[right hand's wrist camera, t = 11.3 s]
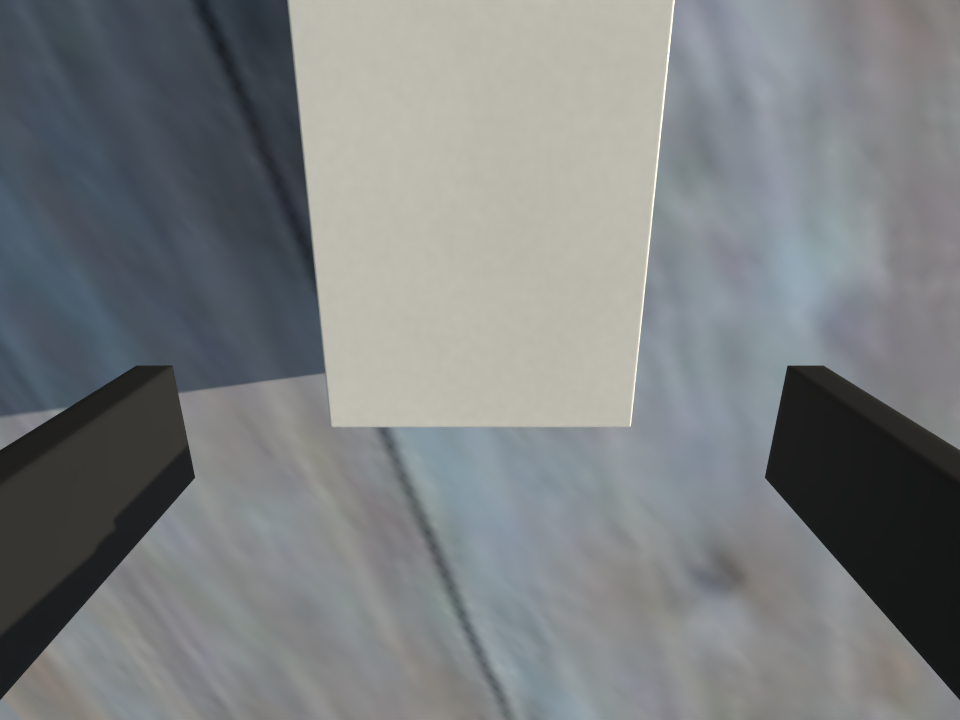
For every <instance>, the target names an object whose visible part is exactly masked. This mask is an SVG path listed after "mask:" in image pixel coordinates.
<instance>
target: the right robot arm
mask: <svg viewBox="0 0 960 720" xmlns="http://www.w3.org/2000/svg"><path fill="white" fill-rule="evenodd" d="M194 478H195V475H194V470H193V465H192V460H191V455H190V450H189V445H188V440H187V435H186V430H185V426H184V421H183V416H182V411H181V406H180V401H179V396H178V391H177V386H176V381H175V376H174V371H173V366H135V367H134V368H132V369H130V370H129V371H127V372H126V373H124V374H122V375H121V376H119V377H117V378H116V379H114V380H113V381H111V382H109V383H108V384H106V385H105V386H103V387H101V388H100V389H98V390H97V391H95V392H93V393H92V394H90V395H88V396H87V397H85V398H84V399H82V400H80V401H79V402H77V403H76V404H74V405H72V406H71V407H69V408H68V409H66V410H64V411H63V412H61V413H59V414H58V415H56V416H55V417H53V418H51V419H50V420H48V421H47V422H45V423H43V424H42V425H40V426H39V427H37V428H35V429H34V430H32V431H31V432H29V433H27V434H26V435H24V436H22V437H21V438H19V439H18V440H16V441H14V442H13V443H11V444H10V445H8V446H6V447H5V448H3V449H2V450H0V700H1V698H2V697H3V696H4V695H5V694H6V693H7V692H8V690H9V689H10V688H11V687H12V686H13V685H14V684H15V682H16V681H17V680H18V679H19V678H20V677H21V676H22V674H23V673H24V672H25V671H26V670H27V669H28V668H29V666H30V665H31V664H32V663H33V662H34V661H35V660H36V659H37V657H38V656H39V655H40V654H41V653H42V652H43V651H44V649H45V648H46V647H47V646H48V645H49V644H50V643H51V641H52V640H53V639H54V638H55V637H56V636H57V635H58V633H59V632H60V631H61V630H62V629H63V628H64V627H65V625H66V624H67V623H68V622H69V621H70V620H71V619H72V617H73V616H74V615H75V614H76V613H77V612H78V611H79V609H80V608H81V607H82V606H83V605H84V604H85V603H86V601H87V600H88V599H89V598H90V597H91V596H92V595H93V593H94V592H95V591H96V590H97V589H98V588H99V587H100V585H101V584H102V583H103V582H104V581H105V580H106V579H107V577H108V576H109V575H110V574H111V573H112V572H113V571H114V570H115V568H116V567H117V566H118V565H119V564H120V563H121V562H122V560H123V559H124V558H125V557H126V556H127V555H128V554H129V552H130V551H131V550H132V549H133V548H134V547H135V546H136V544H137V543H138V542H139V541H140V540H141V539H142V538H143V536H144V535H145V534H146V533H147V532H148V531H149V530H150V528H151V527H152V526H153V525H154V524H155V523H156V522H157V520H158V519H159V518H160V517H161V516H162V515H163V514H164V512H165V511H166V510H167V509H168V508H169V507H170V506H171V504H172V503H173V502H174V501H175V500H176V499H177V498H178V496H179V495H180V494H181V493H182V492H183V491H184V490H185V488H186V487H187V486H188V485H189V484H190V483H191V482H192V481H193V479H194ZM765 478H766V479H767V481H768V482H769V483H770V484H771V485H772V486H773V487H774V488H775V490H776V491H777V492H778V493H779V494H780V495H781V496H782V498H783V499H784V500H785V501H786V502H787V503H788V504H789V506H790V507H791V508H792V509H793V510H794V511H795V512H796V514H797V515H798V516H799V517H800V518H801V519H802V520H803V522H804V523H805V524H806V525H807V526H808V527H809V528H810V530H811V531H812V532H813V533H814V534H815V535H816V536H817V538H818V539H819V540H820V541H821V542H822V543H823V544H824V546H825V547H826V548H827V549H828V550H829V551H830V552H831V554H832V555H833V556H834V557H835V558H836V559H837V560H838V562H839V563H840V564H841V565H842V566H843V567H844V568H845V570H846V571H847V572H848V573H849V574H850V575H851V576H852V577H853V579H854V580H855V581H856V582H857V583H858V584H859V585H860V587H861V588H862V589H863V590H864V591H865V592H866V593H867V595H868V596H869V597H870V598H871V599H872V600H873V601H874V603H875V604H876V605H877V606H878V607H879V608H880V609H881V611H882V612H883V613H884V614H885V615H886V616H887V617H888V619H889V620H890V621H891V622H892V623H893V624H894V625H895V627H896V628H897V629H898V630H899V631H900V632H901V633H902V635H903V636H904V637H905V638H906V639H907V640H908V641H909V643H910V644H911V645H912V646H913V647H914V648H915V649H916V651H917V652H918V653H919V654H920V655H921V656H922V657H923V659H924V660H925V661H926V662H927V663H928V664H929V665H930V666H931V668H932V669H933V670H934V671H935V672H936V673H937V674H938V676H939V677H940V678H941V679H942V680H943V681H944V682H945V684H946V685H947V686H948V687H949V688H950V689H951V690H952V692H953V693H954V694H955V695H956V696H957V697H958V698H959V700H960V450H958V449H957V448H955V447H954V446H952V445H950V444H949V443H947V442H946V441H944V440H942V439H941V438H939V437H938V436H936V435H934V434H933V433H931V432H929V431H928V430H926V429H925V428H923V427H921V426H920V425H918V424H917V423H915V422H913V421H912V420H910V419H909V418H907V417H905V416H904V415H902V414H901V413H899V412H897V411H896V410H894V409H892V408H891V407H889V406H888V405H886V404H884V403H883V402H881V401H880V400H878V399H876V398H875V397H873V396H872V395H870V394H868V393H867V392H865V391H863V390H862V389H860V388H859V387H857V386H855V385H854V384H852V383H851V382H849V381H847V380H846V379H844V378H843V377H841V376H839V375H838V374H836V373H834V372H833V371H831V370H830V369H828V368H826V367H825V366H787V371H786V376H785V381H784V386H783V391H782V396H781V401H780V406H779V411H778V416H777V421H776V426H775V430H774V435H773V440H772V445H771V450H770V455H769V460H768V465H767V470H766V475H765Z"/></svg>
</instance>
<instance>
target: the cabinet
mask: <svg viewBox="0 0 960 720" xmlns="http://www.w3.org/2000/svg"><path fill="white" fill-rule="evenodd" d="M674 2H675V0H287V3H288V13H289V23H290V33H291V42H292V52H293V62H294V72H295V82H296V92H297V101H298V111H299V121H300V131H301V141H302V151H303V160H304V170H305V180H306V190H307V200H308V210H309V219H310V229H311V239H312V249H313V259H314V269H315V278H316V288H317V298H318V308H319V318H320V328H321V337H322V347H323V357H324V367H325V377H326V387H327V396H328V406H329V416H330V425H331V427H630V426H631V419H632V409H633V399H634V390H635V380H636V370H637V361H638V351H639V341H640V331H641V322H642V312H643V302H644V293H645V283H646V273H647V264H648V254H649V244H650V234H651V225H652V215H653V205H654V196H655V186H656V176H657V167H658V157H659V147H660V137H661V128H662V118H663V108H664V99H665V89H666V79H667V70H668V60H669V50H670V40H671V31H672V21H673V11H674Z"/></svg>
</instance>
